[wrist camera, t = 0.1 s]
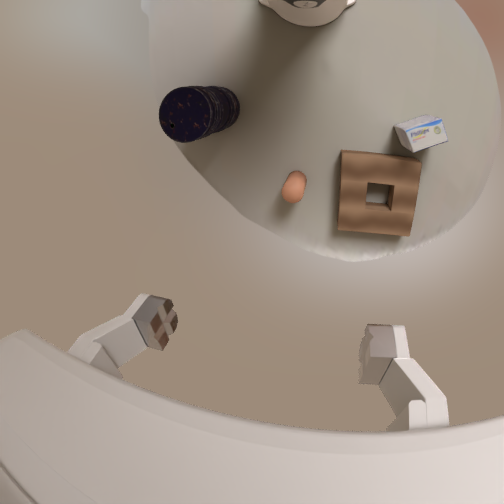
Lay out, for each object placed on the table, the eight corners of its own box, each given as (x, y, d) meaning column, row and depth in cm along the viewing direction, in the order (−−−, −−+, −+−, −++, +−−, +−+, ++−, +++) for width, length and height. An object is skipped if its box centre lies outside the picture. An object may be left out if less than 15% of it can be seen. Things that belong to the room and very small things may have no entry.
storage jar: (221, 77, 47) (187, 73, 35) (250, 111, 50) (224, 118, 38) (187, 106, 52) (148, 113, 40) (214, 139, 55) (181, 154, 43)
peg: (287, 170, 55) (281, 182, 48) (306, 171, 54) (303, 182, 47) (287, 188, 57) (281, 202, 50) (306, 189, 56) (303, 203, 49)
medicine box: (400, 145, 45) (413, 154, 38) (392, 124, 43) (404, 130, 36) (432, 134, 41) (449, 141, 34) (425, 113, 40) (441, 117, 33)
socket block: (341, 149, 49) (342, 153, 46) (415, 158, 45) (421, 163, 42) (337, 221, 58) (337, 229, 55) (405, 227, 54) (409, 236, 51)
